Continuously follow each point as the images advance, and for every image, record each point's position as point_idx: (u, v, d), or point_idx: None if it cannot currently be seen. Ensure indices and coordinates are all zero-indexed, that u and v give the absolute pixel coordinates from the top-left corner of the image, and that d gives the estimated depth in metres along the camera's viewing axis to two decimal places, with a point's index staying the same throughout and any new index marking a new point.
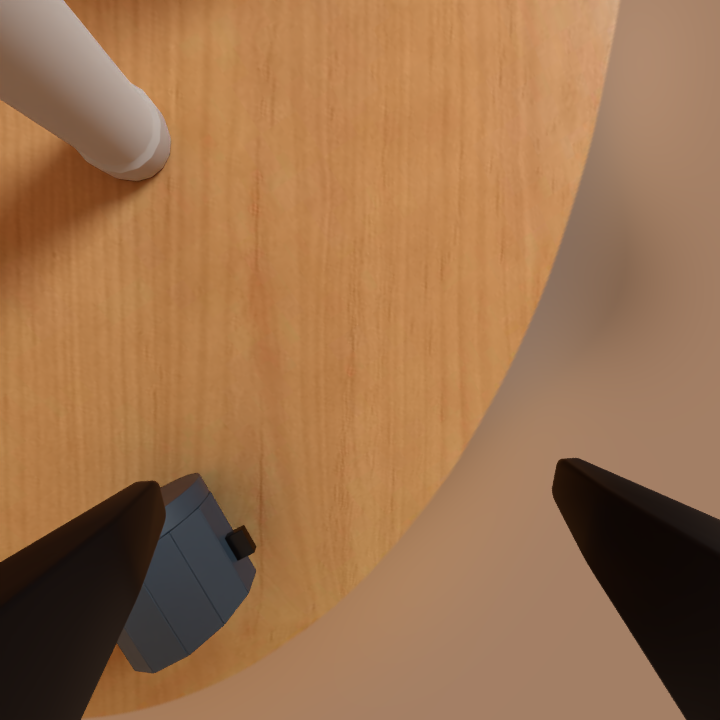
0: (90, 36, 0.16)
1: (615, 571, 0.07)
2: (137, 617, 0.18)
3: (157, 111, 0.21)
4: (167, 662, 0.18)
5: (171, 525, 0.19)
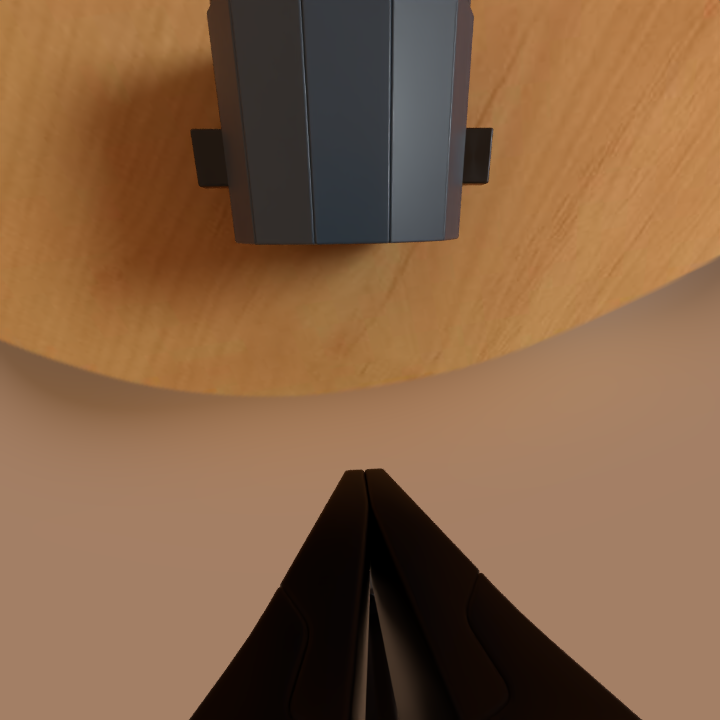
0: None
1: (378, 588, 0.07)
2: (341, 105, 0.08)
3: None
4: (347, 235, 0.09)
5: None
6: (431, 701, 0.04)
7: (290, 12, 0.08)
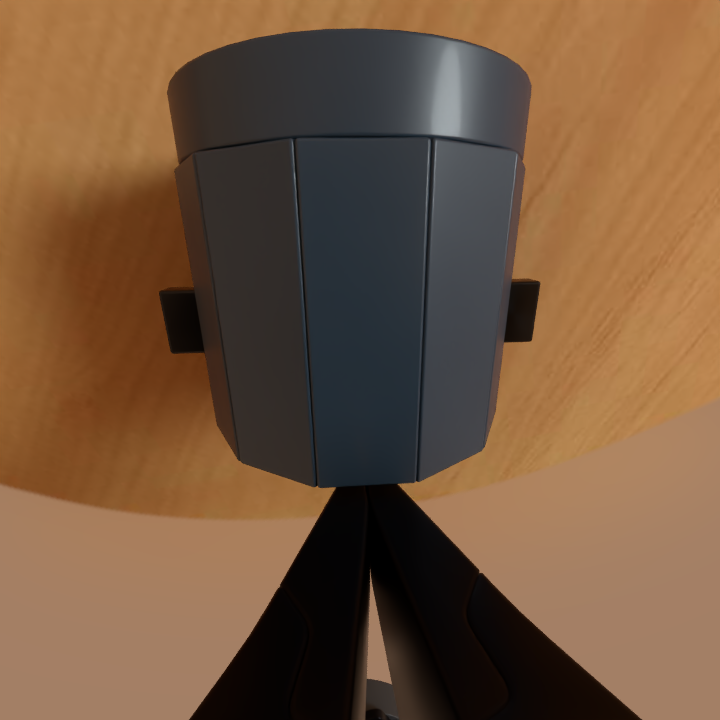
0: None
1: (378, 588, 0.07)
2: (354, 334, 0.06)
3: None
4: (360, 477, 0.07)
5: (517, 140, 0.06)
6: (432, 701, 0.04)
7: (283, 223, 0.05)
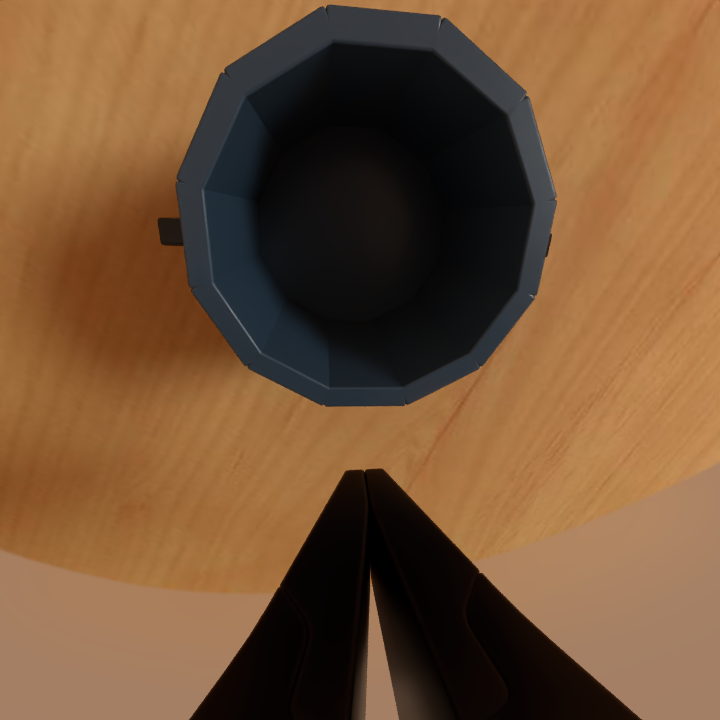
0: None
1: (378, 588, 0.07)
2: None
3: None
4: (376, 16, 0.06)
5: None
6: (432, 701, 0.04)
7: None
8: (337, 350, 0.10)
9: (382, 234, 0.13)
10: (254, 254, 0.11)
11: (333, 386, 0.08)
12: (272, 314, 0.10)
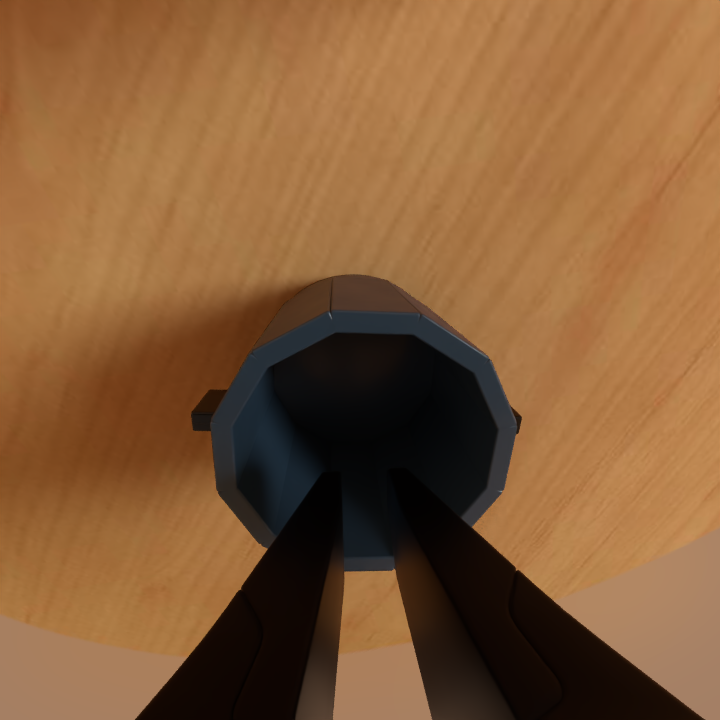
0: None
1: (406, 586, 0.07)
2: None
3: None
4: (369, 310, 0.08)
5: None
6: (478, 697, 0.04)
7: (324, 284, 0.12)
8: None
9: (381, 373, 0.14)
10: (268, 401, 0.13)
11: None
12: (282, 467, 0.12)
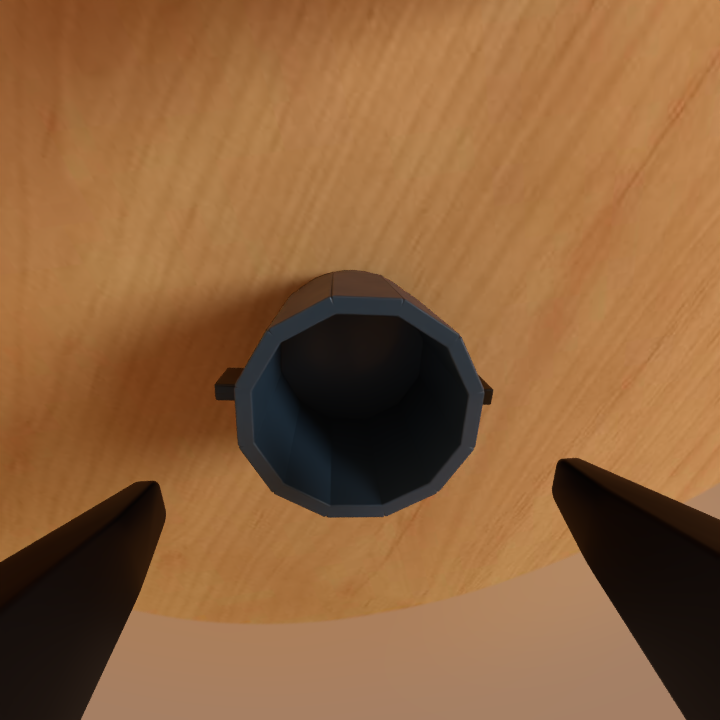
0: None
1: (615, 571, 0.07)
2: (355, 282, 0.12)
3: None
4: (362, 296, 0.10)
5: None
6: None
7: (325, 278, 0.14)
8: (337, 460, 0.14)
9: (375, 357, 0.16)
10: (277, 380, 0.15)
11: (333, 504, 0.12)
12: (290, 435, 0.14)
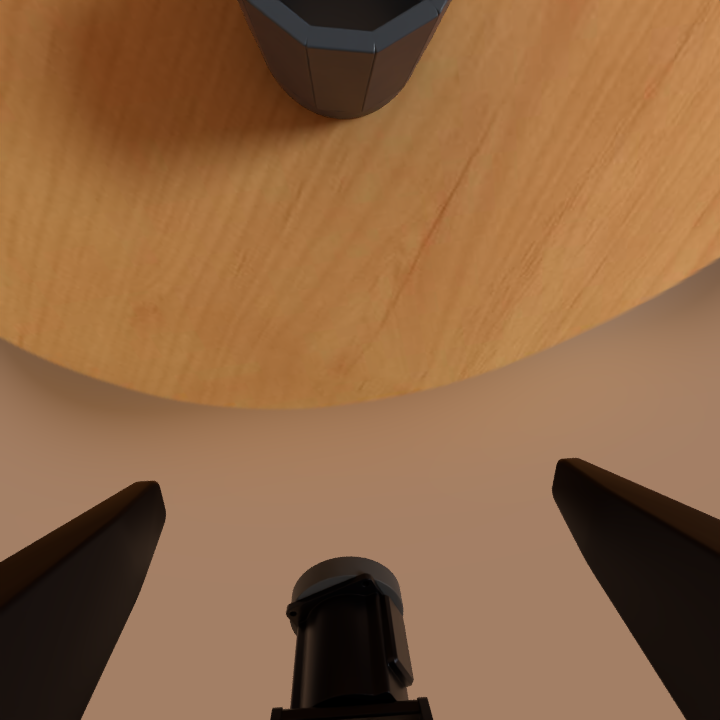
0: None
1: (615, 571, 0.07)
2: None
3: None
4: None
5: None
6: None
7: None
8: None
9: (368, 6, 0.14)
10: None
11: (313, 25, 0.10)
12: None
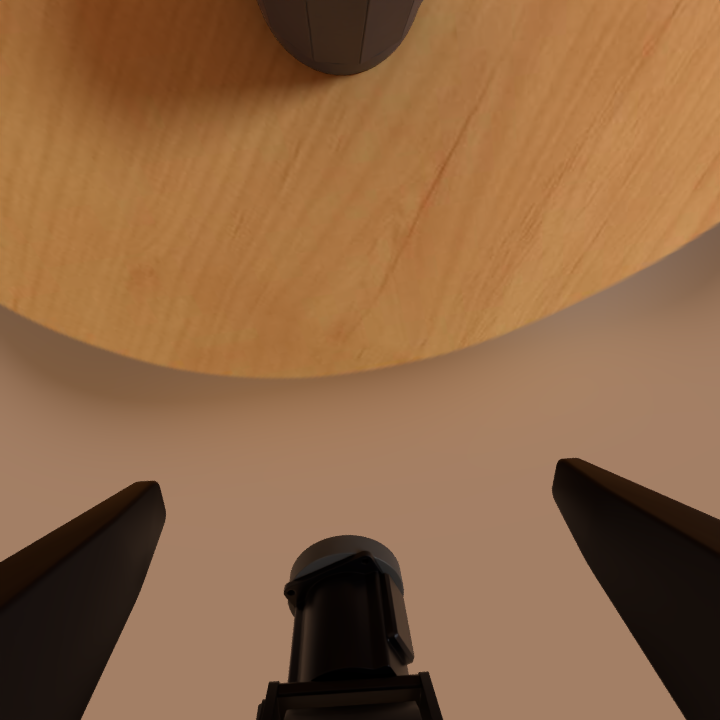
0: None
1: (615, 571, 0.07)
2: None
3: None
4: None
5: None
6: None
7: None
8: None
9: None
10: None
11: None
12: None
